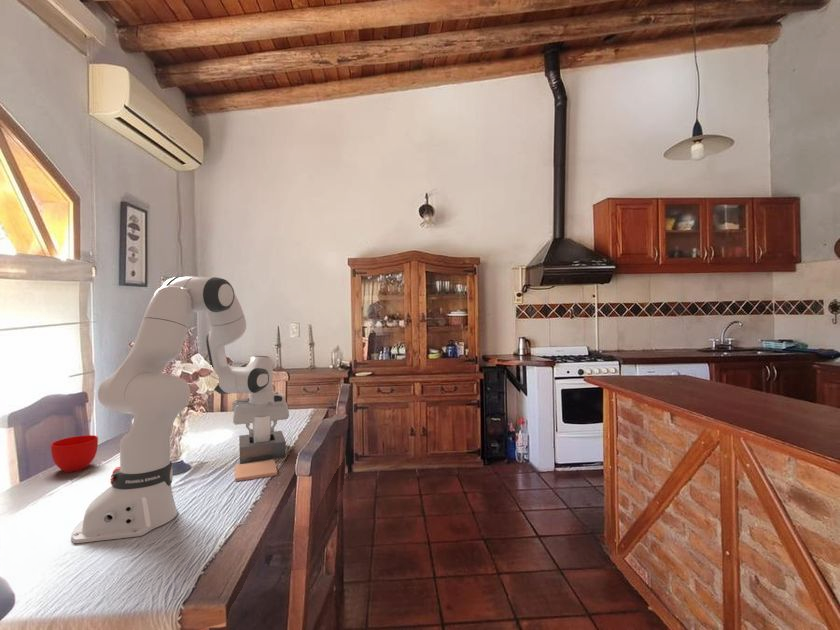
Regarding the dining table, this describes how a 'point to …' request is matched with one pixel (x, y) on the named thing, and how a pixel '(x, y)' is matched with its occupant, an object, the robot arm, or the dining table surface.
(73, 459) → the red bowl
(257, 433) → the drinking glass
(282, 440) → the holder block
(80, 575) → the dining table surface
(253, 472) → the terracotta tile
